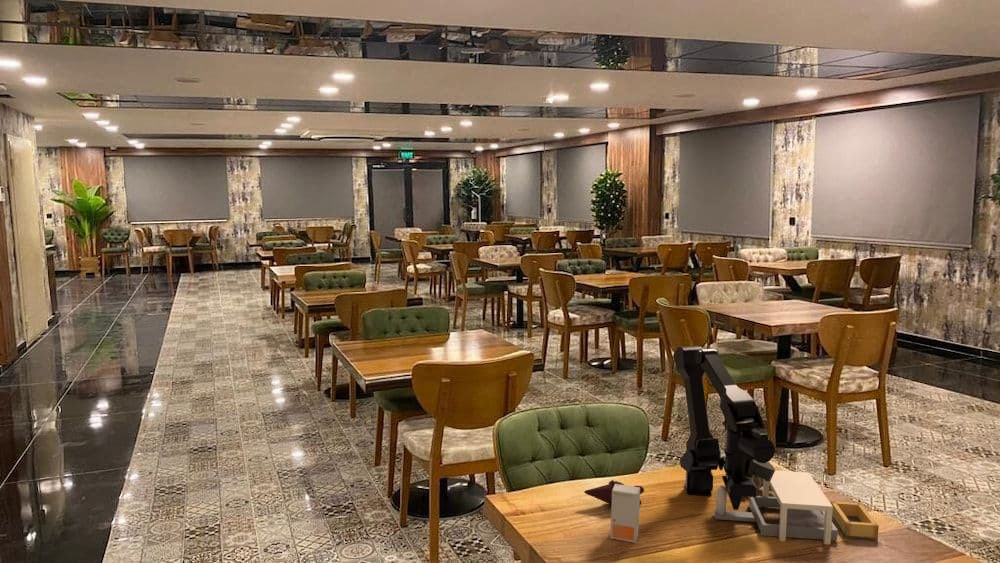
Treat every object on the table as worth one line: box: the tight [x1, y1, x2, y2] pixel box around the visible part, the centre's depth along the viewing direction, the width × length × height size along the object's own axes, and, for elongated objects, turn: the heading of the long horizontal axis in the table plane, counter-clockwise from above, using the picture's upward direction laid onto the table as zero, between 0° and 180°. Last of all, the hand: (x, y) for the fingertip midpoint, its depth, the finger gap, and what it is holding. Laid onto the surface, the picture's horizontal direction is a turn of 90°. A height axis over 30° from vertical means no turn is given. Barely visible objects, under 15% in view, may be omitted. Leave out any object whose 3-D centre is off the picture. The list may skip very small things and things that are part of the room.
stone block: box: [780, 506, 825, 528], centre depth 173 cm, size 12×5×10 cm
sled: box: [713, 485, 839, 541], centre depth 173 cm, size 26×17×7 cm, turn 81°
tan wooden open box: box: [830, 501, 880, 541], centre depth 171 cm, size 7×12×4 cm, turn 171°
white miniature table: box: [762, 470, 833, 546], centre depth 173 cm, size 11×20×9 cm, turn 171°
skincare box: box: [610, 484, 641, 544], centre depth 165 cm, size 6×4×12 cm
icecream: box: [584, 479, 645, 507], centre depth 182 cm, size 7×8×15 cm
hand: (735, 509), depth 175 cm, fingers closed
